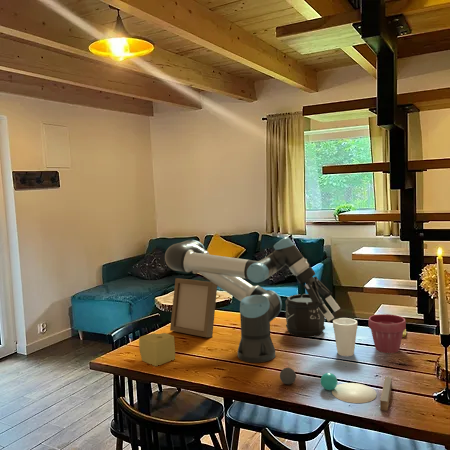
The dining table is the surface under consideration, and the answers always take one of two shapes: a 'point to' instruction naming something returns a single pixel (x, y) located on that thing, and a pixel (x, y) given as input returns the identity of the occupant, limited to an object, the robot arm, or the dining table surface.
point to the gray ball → (287, 376)
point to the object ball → (328, 381)
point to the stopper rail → (386, 394)
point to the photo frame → (193, 307)
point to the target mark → (354, 393)
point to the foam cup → (345, 335)
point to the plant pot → (387, 332)
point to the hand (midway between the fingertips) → (334, 314)
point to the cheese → (157, 348)
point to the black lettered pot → (303, 316)
